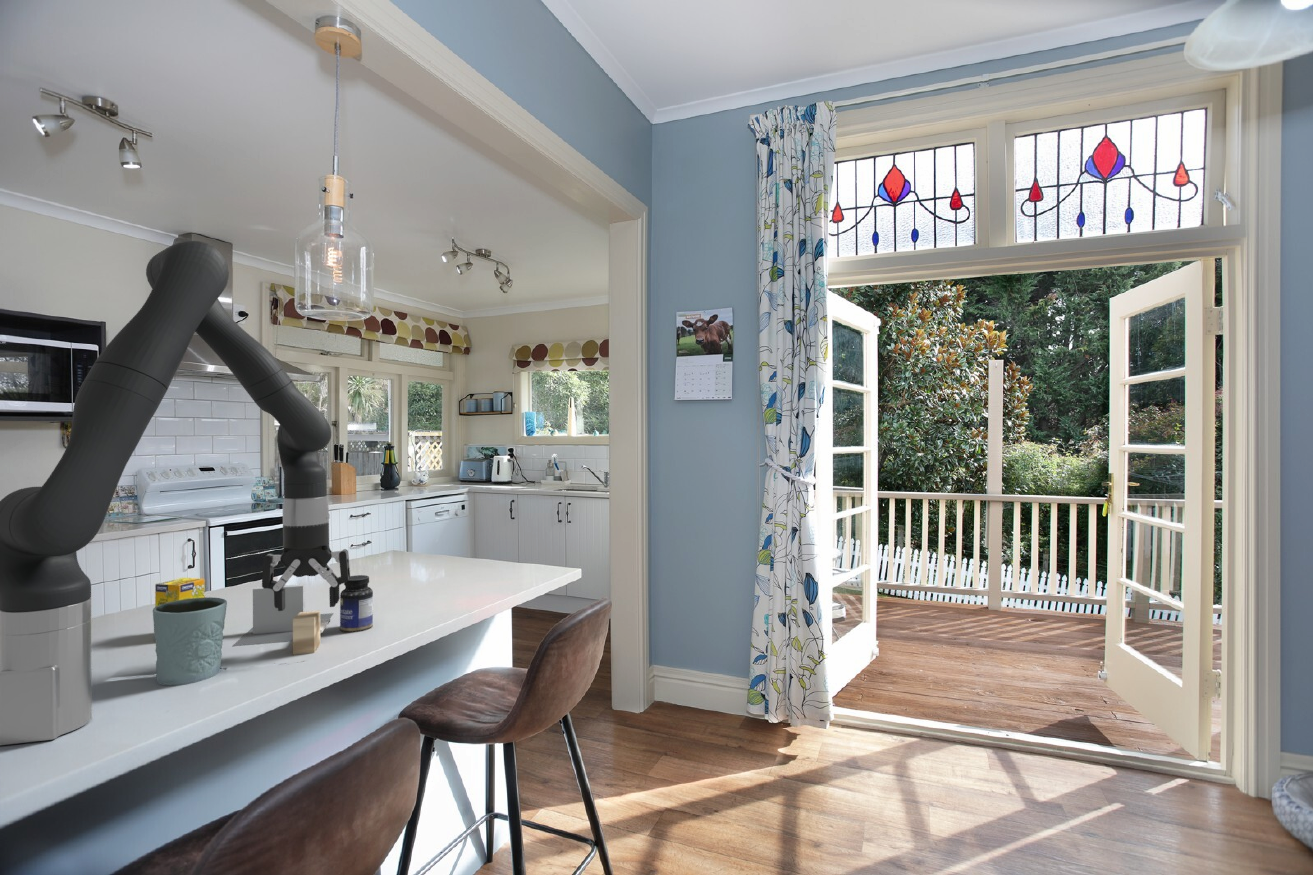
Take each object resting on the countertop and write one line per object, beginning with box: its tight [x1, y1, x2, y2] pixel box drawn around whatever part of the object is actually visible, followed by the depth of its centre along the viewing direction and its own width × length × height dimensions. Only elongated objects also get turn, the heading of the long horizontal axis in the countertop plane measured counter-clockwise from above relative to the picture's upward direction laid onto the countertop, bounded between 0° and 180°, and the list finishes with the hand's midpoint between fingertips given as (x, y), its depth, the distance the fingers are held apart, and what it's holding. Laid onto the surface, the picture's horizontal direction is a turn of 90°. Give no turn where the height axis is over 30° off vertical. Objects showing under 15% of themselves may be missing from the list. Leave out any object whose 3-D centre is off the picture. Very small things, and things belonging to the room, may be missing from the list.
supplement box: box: [154, 577, 206, 608], centre depth 129 cm, size 6×6×11 cm
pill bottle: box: [339, 574, 374, 634], centre depth 132 cm, size 6×6×11 cm
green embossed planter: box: [152, 596, 228, 686], centre depth 108 cm, size 10×10×12 cm
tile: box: [252, 583, 306, 634], centre depth 130 cm, size 2×9×9 cm, turn 107°
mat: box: [232, 612, 334, 647], centre depth 132 cm, size 19×14×1 cm
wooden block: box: [292, 610, 331, 656], centre depth 123 cm, size 13×4×7 cm, turn 17°
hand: (307, 608), depth 119 cm, fingers open, 8 cm apart
